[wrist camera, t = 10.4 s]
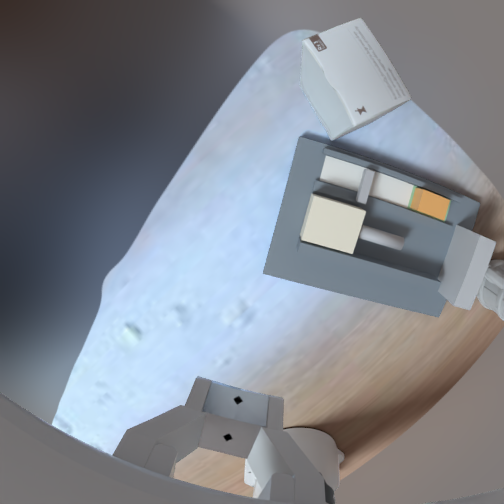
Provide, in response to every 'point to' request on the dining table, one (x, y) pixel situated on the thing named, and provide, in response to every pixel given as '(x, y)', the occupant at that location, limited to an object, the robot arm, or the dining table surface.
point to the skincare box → (349, 78)
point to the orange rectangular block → (430, 203)
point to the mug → (493, 288)
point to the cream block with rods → (343, 222)
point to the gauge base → (385, 219)
